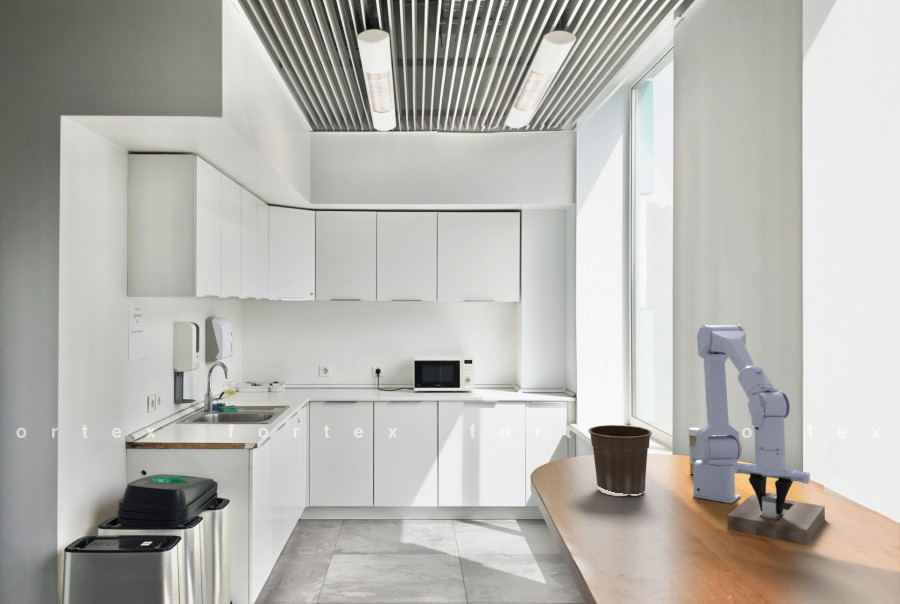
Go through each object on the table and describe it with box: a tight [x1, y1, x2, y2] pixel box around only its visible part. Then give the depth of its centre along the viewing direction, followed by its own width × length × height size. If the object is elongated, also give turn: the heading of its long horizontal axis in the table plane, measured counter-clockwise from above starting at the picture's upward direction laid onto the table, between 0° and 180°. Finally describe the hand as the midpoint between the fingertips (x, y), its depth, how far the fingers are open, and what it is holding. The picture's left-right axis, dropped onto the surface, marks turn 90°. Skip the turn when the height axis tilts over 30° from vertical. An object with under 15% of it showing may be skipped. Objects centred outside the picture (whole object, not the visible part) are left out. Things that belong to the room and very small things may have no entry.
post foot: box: [726, 494, 826, 546], centre depth 134 cm, size 15×20×3 cm
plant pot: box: [588, 424, 653, 494], centre depth 161 cm, size 16×16×16 cm
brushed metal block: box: [762, 492, 781, 521], centre depth 130 cm, size 3×4×7 cm, turn 139°
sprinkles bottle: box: [688, 427, 701, 475], centre depth 177 cm, size 5×5×14 cm
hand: (771, 511), depth 130 cm, fingers closed on brushed metal block, 2 cm apart
